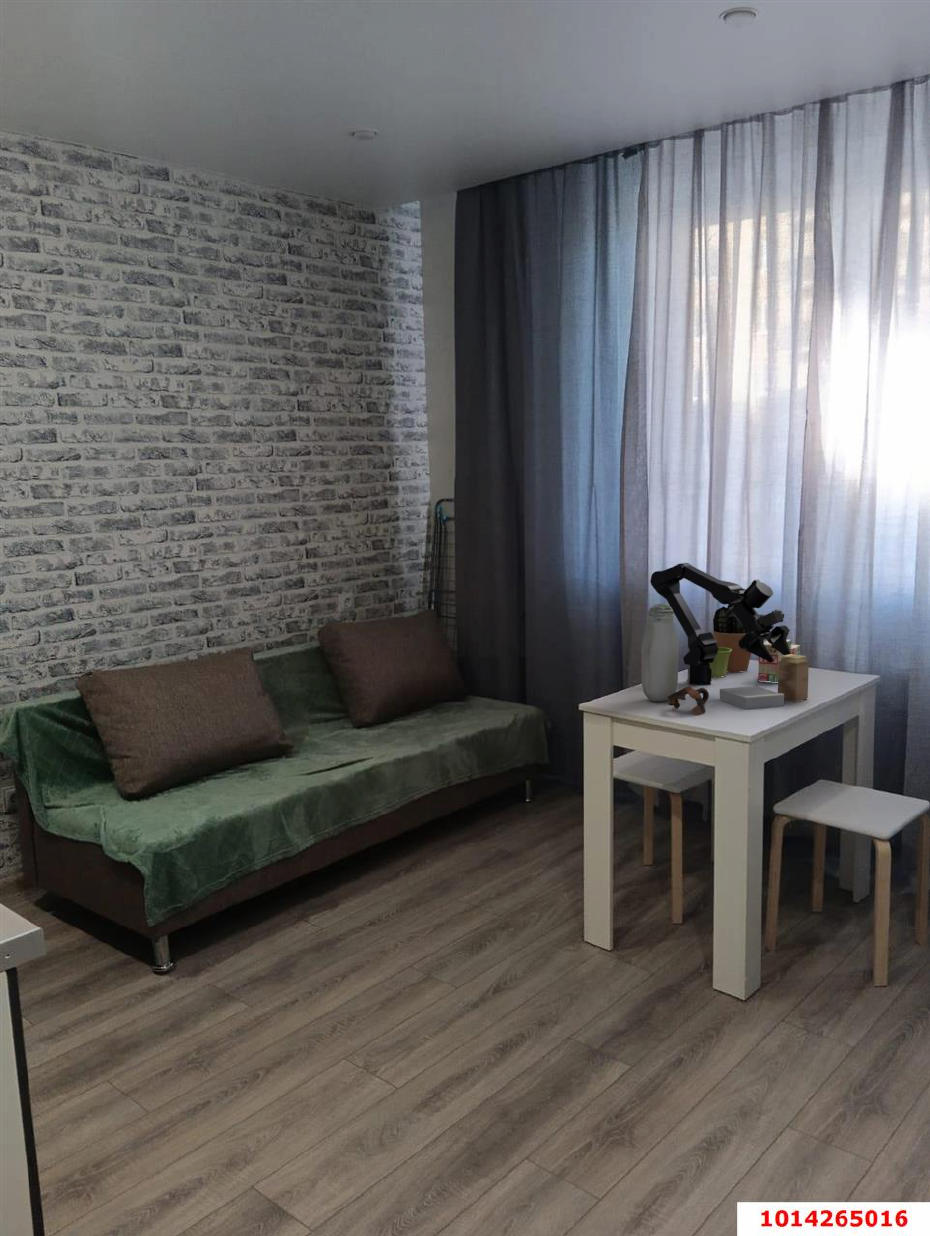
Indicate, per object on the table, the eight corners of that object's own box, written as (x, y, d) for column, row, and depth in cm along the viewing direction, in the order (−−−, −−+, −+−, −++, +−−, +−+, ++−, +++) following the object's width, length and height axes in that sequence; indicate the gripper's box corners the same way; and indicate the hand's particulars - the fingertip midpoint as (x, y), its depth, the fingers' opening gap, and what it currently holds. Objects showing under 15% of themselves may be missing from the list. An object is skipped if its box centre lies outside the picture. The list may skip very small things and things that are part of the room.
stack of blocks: (781, 671, 344) (782, 634, 342) (800, 673, 340) (801, 635, 338) (757, 682, 327) (758, 643, 325) (777, 684, 323) (778, 644, 321)
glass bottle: (666, 705, 294) (667, 607, 291) (635, 701, 301) (635, 604, 297) (684, 700, 302) (685, 603, 298) (653, 695, 309) (653, 601, 305)
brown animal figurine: (690, 719, 280) (676, 691, 282) (671, 728, 288) (657, 701, 290) (722, 702, 286) (707, 675, 287) (703, 711, 294) (688, 685, 295)
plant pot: (736, 677, 334) (736, 650, 333) (708, 679, 332) (708, 652, 331) (724, 672, 343) (724, 646, 342) (696, 673, 341) (697, 647, 340)
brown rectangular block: (777, 698, 301) (778, 656, 300) (789, 695, 305) (790, 653, 304) (796, 702, 297) (797, 658, 295) (807, 699, 301) (808, 656, 299)
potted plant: (727, 664, 356) (728, 591, 353) (763, 669, 346) (764, 594, 343) (704, 670, 347) (705, 595, 344) (740, 675, 337) (741, 598, 334)
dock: (719, 699, 302) (719, 687, 302) (756, 695, 306) (756, 684, 305) (745, 708, 289) (745, 697, 289) (783, 705, 292) (784, 694, 292)
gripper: (747, 603, 298) (780, 645, 291) (784, 598, 310) (817, 638, 303) (724, 628, 305) (756, 670, 298) (761, 622, 317) (792, 662, 310)
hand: (781, 659), depth 302 cm, fingers open, 9 cm apart
